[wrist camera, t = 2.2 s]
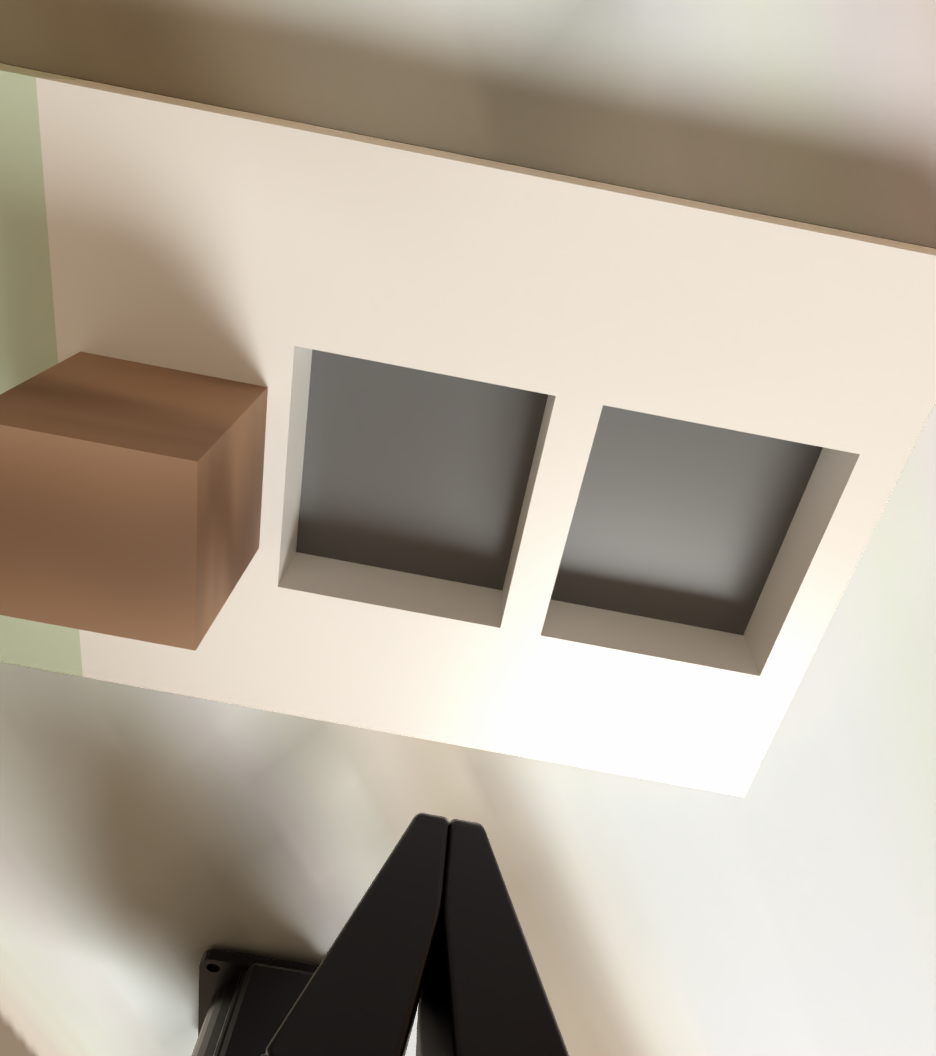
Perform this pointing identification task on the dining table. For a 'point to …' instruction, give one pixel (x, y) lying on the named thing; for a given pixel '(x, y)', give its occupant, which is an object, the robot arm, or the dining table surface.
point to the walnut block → (128, 497)
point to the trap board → (478, 423)
